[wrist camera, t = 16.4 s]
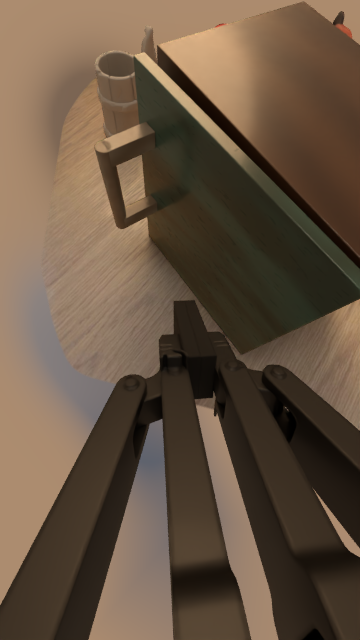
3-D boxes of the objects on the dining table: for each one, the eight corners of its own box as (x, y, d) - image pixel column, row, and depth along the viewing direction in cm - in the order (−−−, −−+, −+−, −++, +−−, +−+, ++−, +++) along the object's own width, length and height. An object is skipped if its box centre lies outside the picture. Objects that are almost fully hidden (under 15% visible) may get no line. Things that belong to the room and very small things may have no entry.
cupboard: (248, 349, 32) (384, 283, 12) (160, 230, 36) (156, 44, 17) (324, 295, 35) (527, 175, 16) (234, 192, 40) (304, 0, 20)
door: (211, 378, 30) (296, 353, 11) (119, 251, 35) (65, 76, 15) (247, 350, 31) (378, 286, 12) (154, 232, 36) (144, 50, 17)
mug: (96, 136, 41) (71, 37, 30) (146, 107, 44) (141, 8, 33) (125, 161, 40) (110, 68, 29) (174, 130, 43) (179, 35, 32)
